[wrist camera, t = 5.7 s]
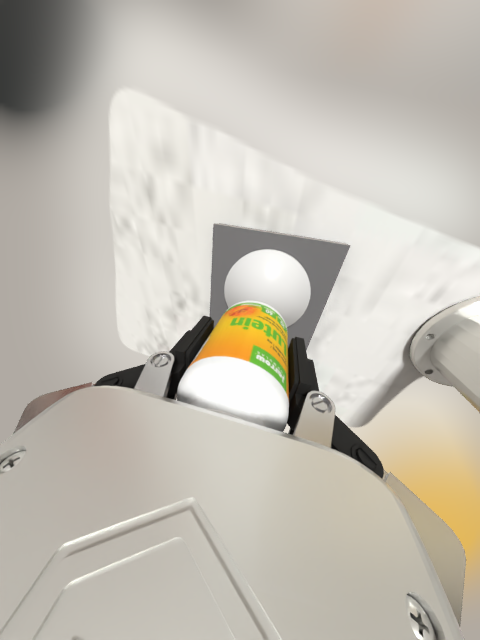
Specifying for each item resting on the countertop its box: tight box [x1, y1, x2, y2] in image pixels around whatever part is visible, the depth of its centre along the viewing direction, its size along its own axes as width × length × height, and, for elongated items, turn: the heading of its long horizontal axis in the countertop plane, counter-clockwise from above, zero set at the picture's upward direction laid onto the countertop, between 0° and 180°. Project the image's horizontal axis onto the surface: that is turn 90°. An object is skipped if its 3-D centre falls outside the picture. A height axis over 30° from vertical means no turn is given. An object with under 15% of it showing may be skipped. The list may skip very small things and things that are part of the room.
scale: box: [210, 223, 350, 350], centre depth 23 cm, size 14×16×3 cm
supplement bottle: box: [177, 301, 289, 432], centre depth 10 cm, size 5×5×10 cm
